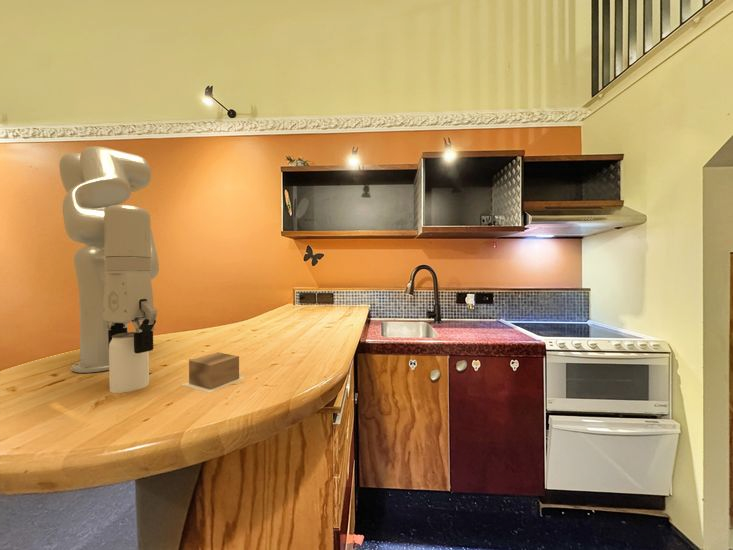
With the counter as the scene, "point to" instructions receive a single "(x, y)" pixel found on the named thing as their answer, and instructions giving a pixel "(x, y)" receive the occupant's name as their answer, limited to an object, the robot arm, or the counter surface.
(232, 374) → the block
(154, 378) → the counter surface
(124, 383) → the can
